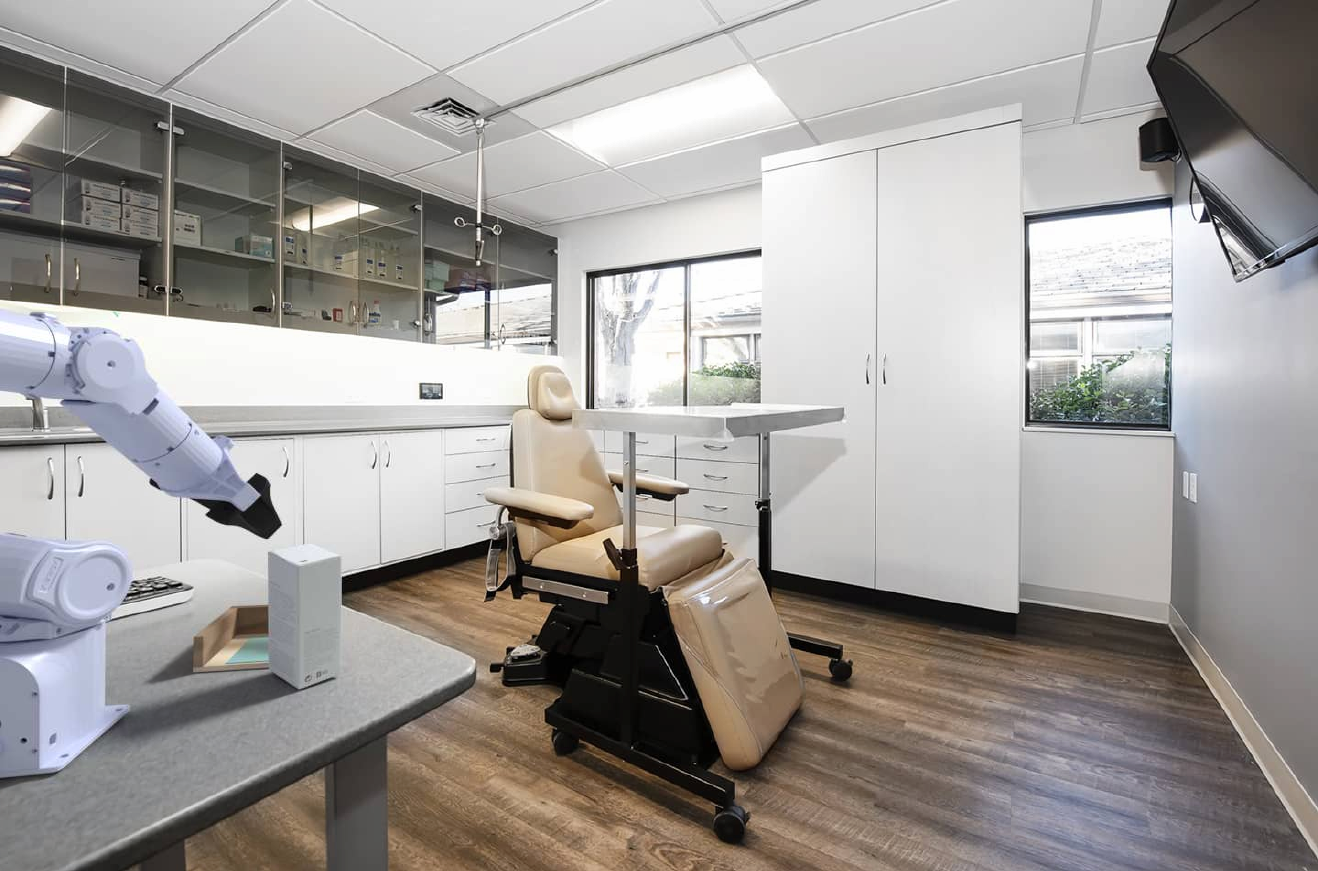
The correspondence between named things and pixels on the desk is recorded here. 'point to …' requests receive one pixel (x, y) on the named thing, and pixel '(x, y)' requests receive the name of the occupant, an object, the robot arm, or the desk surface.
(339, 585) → the skincare box
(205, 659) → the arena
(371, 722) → the desk surface
